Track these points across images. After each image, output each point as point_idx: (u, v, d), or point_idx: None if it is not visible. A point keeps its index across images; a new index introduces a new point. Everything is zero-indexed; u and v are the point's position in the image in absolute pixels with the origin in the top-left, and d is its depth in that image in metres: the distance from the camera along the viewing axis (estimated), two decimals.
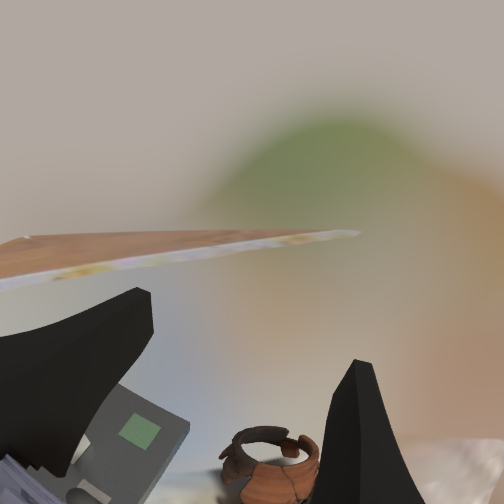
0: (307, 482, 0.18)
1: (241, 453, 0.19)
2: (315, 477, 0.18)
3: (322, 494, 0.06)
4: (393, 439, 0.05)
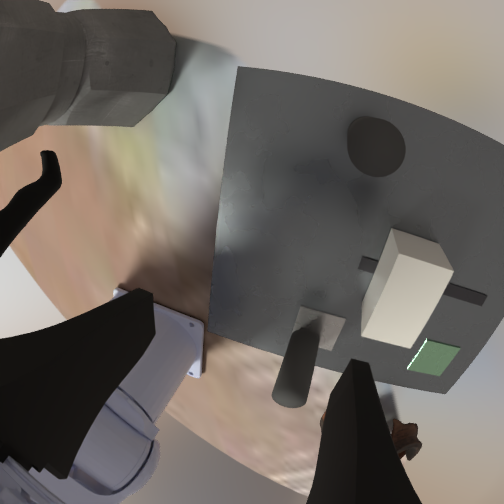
0: None
1: None
2: None
3: (319, 493, 0.06)
4: (390, 438, 0.05)
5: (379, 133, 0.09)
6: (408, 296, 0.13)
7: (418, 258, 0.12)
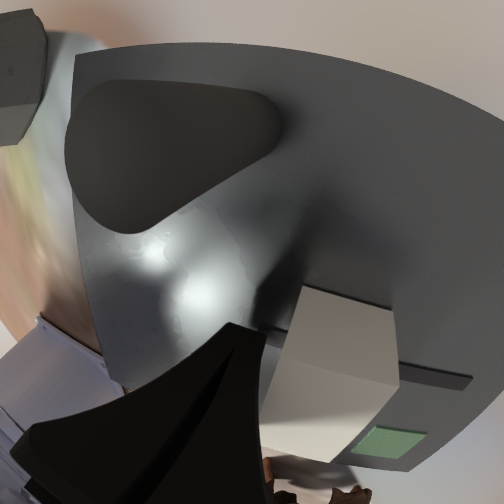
0: None
1: None
2: None
3: None
4: (253, 406, 0.06)
5: (112, 119, 0.03)
6: (312, 413, 0.07)
7: (324, 364, 0.06)
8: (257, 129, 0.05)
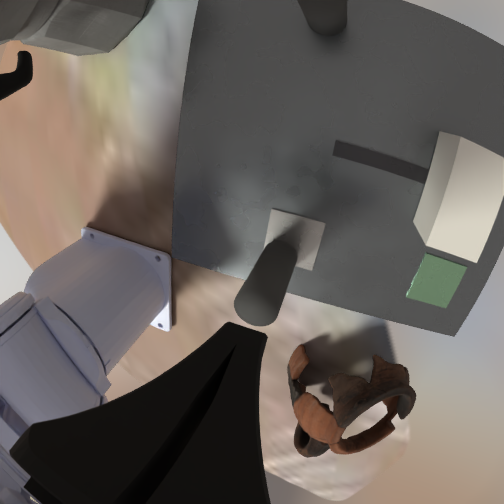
0: (325, 442, 0.19)
1: (360, 410, 0.16)
2: None
3: None
4: (253, 406, 0.06)
5: None
6: (474, 191, 0.10)
7: (479, 145, 0.09)
8: None
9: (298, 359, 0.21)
